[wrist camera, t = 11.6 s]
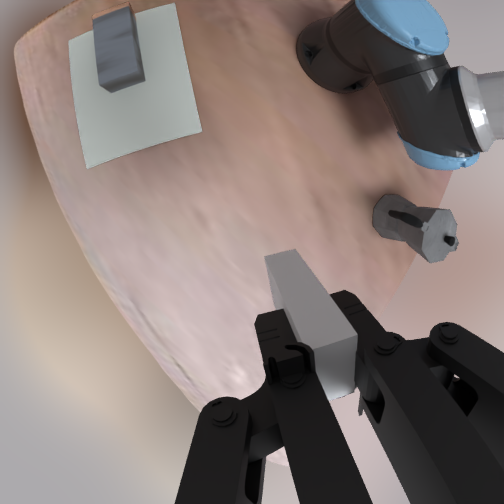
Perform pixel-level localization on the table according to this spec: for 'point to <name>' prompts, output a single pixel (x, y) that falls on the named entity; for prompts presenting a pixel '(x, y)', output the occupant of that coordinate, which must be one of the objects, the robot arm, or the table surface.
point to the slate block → (117, 48)
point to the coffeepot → (416, 226)
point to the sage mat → (135, 93)
